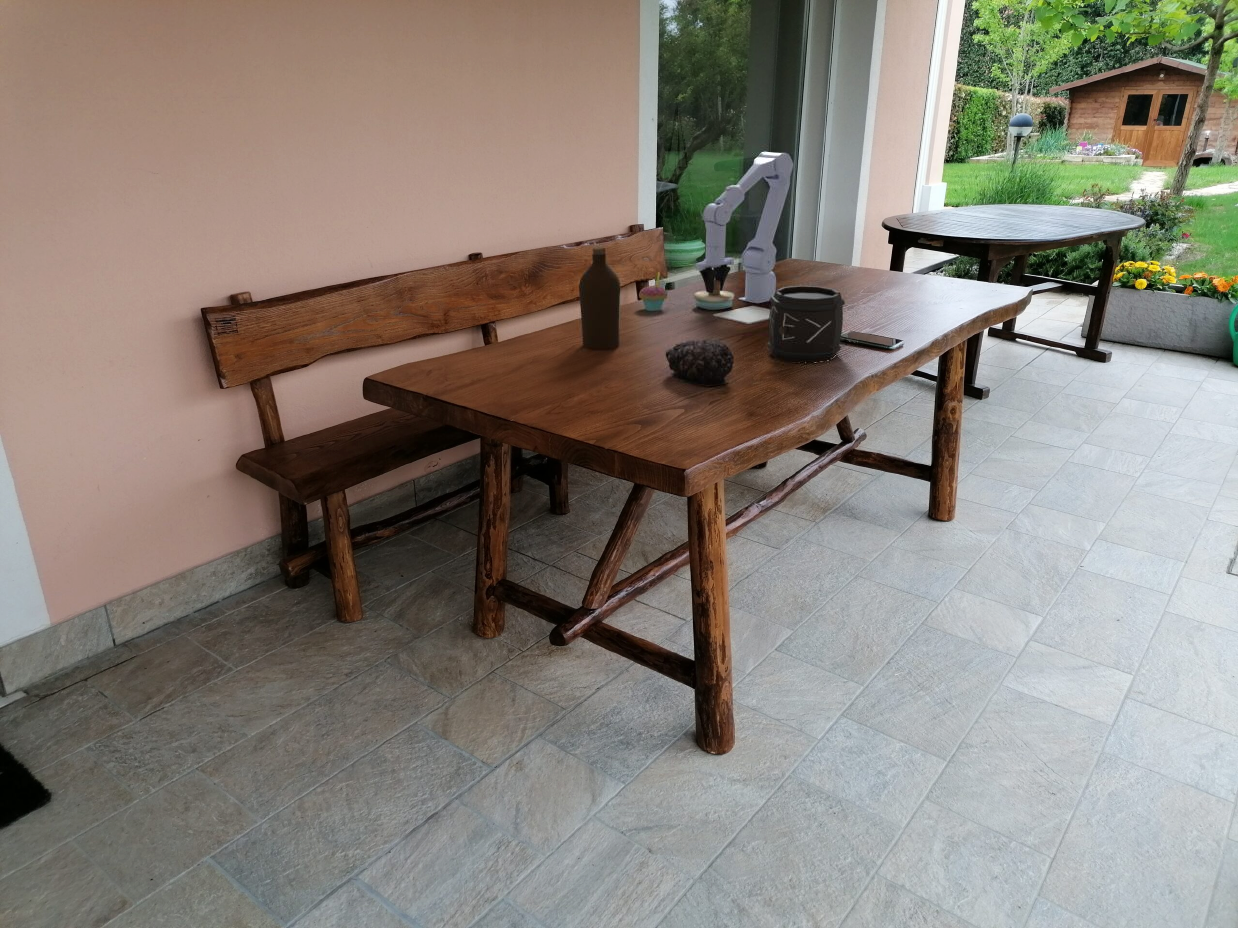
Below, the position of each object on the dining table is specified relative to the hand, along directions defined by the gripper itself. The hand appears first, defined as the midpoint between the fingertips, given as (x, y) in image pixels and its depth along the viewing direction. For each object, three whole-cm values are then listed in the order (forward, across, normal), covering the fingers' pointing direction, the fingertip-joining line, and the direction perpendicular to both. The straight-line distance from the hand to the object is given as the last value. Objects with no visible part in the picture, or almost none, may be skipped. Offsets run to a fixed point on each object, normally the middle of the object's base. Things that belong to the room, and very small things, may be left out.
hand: (714, 291), depth 268 cm
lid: (+2, 0, 0) cm, 2 cm away
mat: (+5, 0, +14) cm, 15 cm away
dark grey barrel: (+5, +22, +52) cm, 57 cm away
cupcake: (+5, +15, -11) cm, 19 cm away
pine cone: (+5, +56, +48) cm, 74 cm away
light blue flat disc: (+5, 0, 0) cm, 5 cm away
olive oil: (+5, +53, +11) cm, 54 cm away
